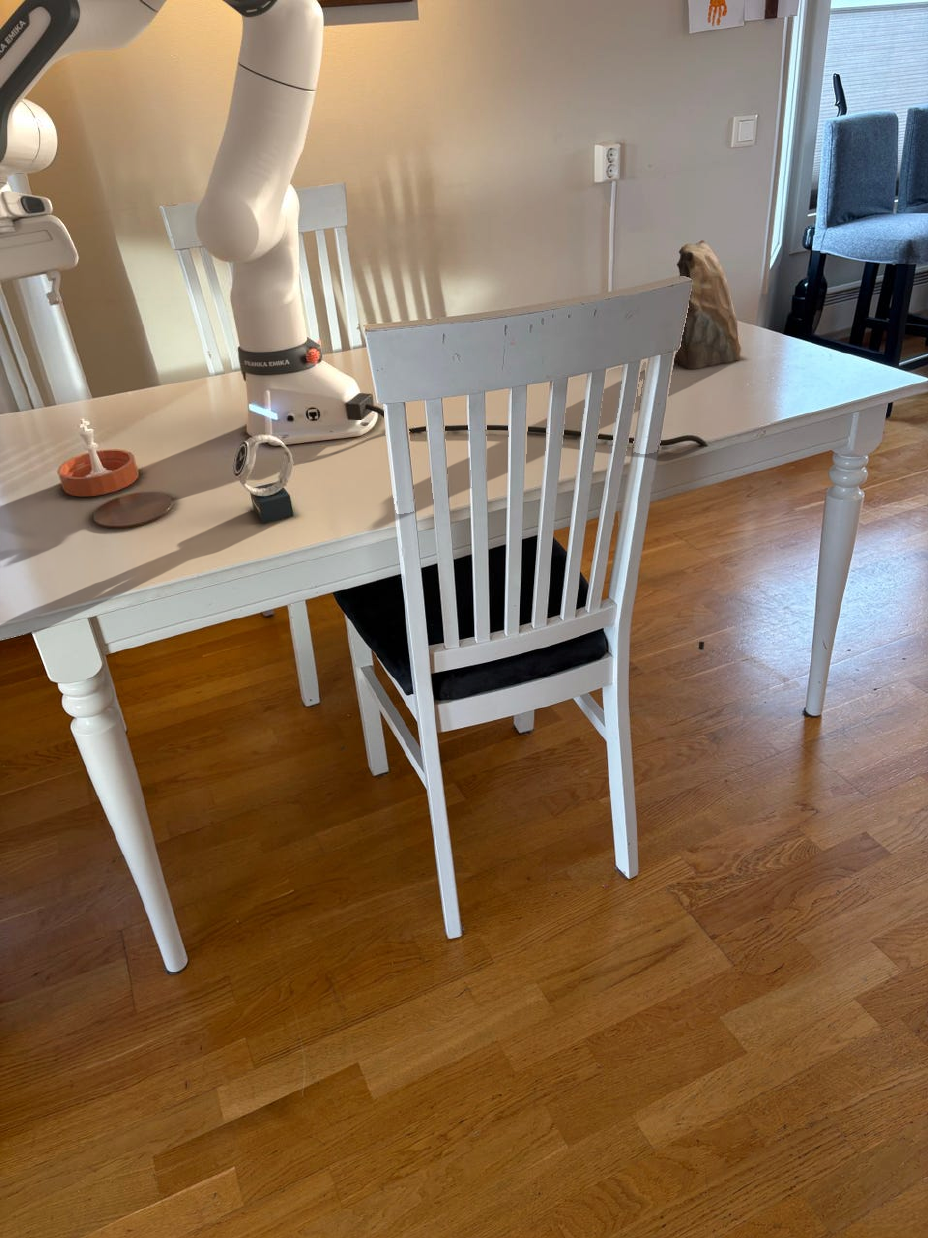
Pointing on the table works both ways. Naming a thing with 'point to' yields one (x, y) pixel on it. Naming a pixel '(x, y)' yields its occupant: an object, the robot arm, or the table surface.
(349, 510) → the table surface
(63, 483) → the dish
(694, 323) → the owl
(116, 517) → the coaster
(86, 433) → the chess piece
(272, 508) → the watch
